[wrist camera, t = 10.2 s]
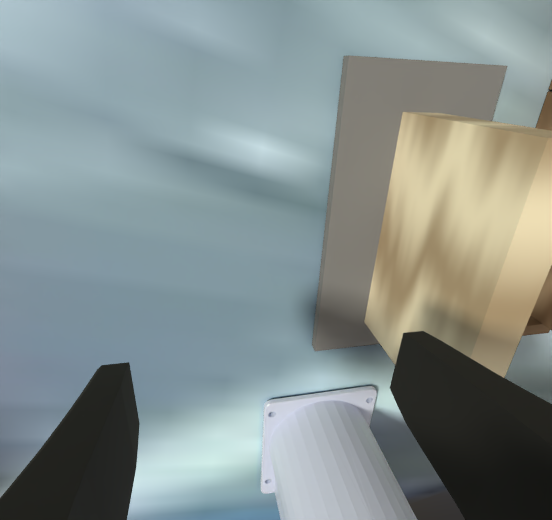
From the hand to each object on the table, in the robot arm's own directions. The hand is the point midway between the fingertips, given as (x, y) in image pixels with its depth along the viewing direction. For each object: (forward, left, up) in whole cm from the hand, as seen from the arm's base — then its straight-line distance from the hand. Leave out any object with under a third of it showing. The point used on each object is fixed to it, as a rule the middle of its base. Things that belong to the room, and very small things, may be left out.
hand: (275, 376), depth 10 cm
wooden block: (0, -9, -10) cm, 13 cm away
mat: (0, -9, -10) cm, 14 cm away
